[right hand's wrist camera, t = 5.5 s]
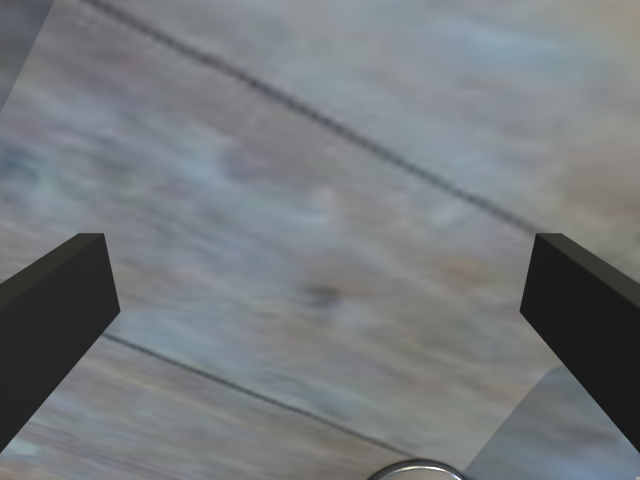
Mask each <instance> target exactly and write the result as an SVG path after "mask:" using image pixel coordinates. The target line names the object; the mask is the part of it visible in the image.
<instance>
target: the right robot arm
mask: <svg viewBox="0 0 640 480" xmlns="http://www.w3.org/2000/svg"><path fill="white" fill-rule="evenodd" d="M120 312H121V311H120V307H119V302H118V297H117V293H116V288H115V283H114V279H113V274H112V269H111V265H110V260H109V255H108V251H107V246H106V241H105V237H104V233H78V234H77V235H75V236H74V237H72V238H71V239H69V240H68V241H66V242H65V243H63V244H61V245H60V246H58V247H57V248H55V249H54V250H52V251H51V252H49V253H48V254H46V255H45V256H43V257H41V258H40V259H38V260H37V261H35V262H34V263H32V264H31V265H29V266H28V267H26V268H25V269H23V270H21V271H20V272H18V273H17V274H15V275H14V276H12V277H11V278H9V279H8V280H6V281H4V282H3V283H1V284H0V453H1V452H2V451H3V449H4V448H5V447H6V446H7V445H8V444H9V442H10V441H11V440H12V439H13V438H14V437H15V435H16V434H17V433H18V432H19V431H20V429H21V428H22V427H23V426H24V425H25V424H26V422H27V421H28V420H29V419H30V418H31V417H32V415H33V414H34V413H35V412H36V411H37V409H38V408H39V407H40V406H41V405H42V404H43V402H44V401H45V400H46V399H47V398H48V396H49V395H50V394H51V393H52V392H53V391H54V389H55V388H56V387H57V386H58V385H59V384H60V382H61V381H62V380H63V379H64V378H65V376H66V375H67V374H68V373H69V372H70V371H71V369H72V368H73V367H74V366H75V365H76V364H77V362H78V361H79V360H80V359H81V358H82V356H83V355H84V354H85V353H86V352H87V351H88V349H89V348H90V347H91V346H92V345H93V343H94V342H95V341H96V340H97V339H98V338H99V336H100V335H101V334H102V333H103V332H104V331H105V329H106V328H107V327H108V326H109V325H110V323H111V322H112V321H113V320H114V319H115V318H116V316H117V315H118V314H119V313H120ZM519 312H520V313H521V314H522V315H523V316H524V318H525V319H526V320H527V321H528V322H529V323H530V325H531V326H532V327H533V328H534V329H535V331H536V332H537V333H538V334H539V335H540V336H541V338H542V339H543V340H544V341H545V342H546V343H547V345H548V346H549V347H550V348H551V349H552V351H553V352H554V353H555V354H556V355H557V356H558V358H559V359H560V360H561V361H562V362H563V364H564V365H565V366H566V367H567V368H568V369H569V371H570V372H571V373H572V374H573V375H574V376H575V378H576V379H577V380H578V381H579V382H580V384H581V385H582V386H583V387H584V388H585V389H586V391H587V392H588V393H589V394H590V395H591V396H592V398H593V399H594V400H595V401H596V402H597V404H598V405H599V406H600V407H601V408H602V409H603V411H604V412H605V413H606V414H607V415H608V417H609V418H610V419H611V420H612V421H613V422H614V424H615V425H616V426H617V427H618V428H619V429H620V431H621V432H622V433H623V434H624V435H625V437H626V438H627V439H628V440H629V441H630V442H631V444H632V445H633V446H634V447H635V448H636V449H637V451H638V452H639V453H640V284H639V283H637V282H636V281H634V280H632V279H631V278H629V277H628V276H626V275H625V274H623V273H622V272H620V271H619V270H617V269H615V268H614V267H612V266H611V265H609V264H608V263H606V262H605V261H603V260H602V259H600V258H599V257H597V256H595V255H594V254H592V253H591V252H589V251H588V250H586V249H585V248H583V247H582V246H580V245H579V244H577V243H575V242H574V241H572V240H571V239H569V238H568V237H566V236H565V235H563V234H562V233H536V237H535V241H534V246H533V251H532V255H531V260H530V265H529V269H528V274H527V279H526V283H525V288H524V293H523V297H522V302H521V307H520V311H519ZM370 480H466V479H465V478H464V477H463V475H462V474H461V473H460V472H458V471H457V470H456V469H454V468H453V467H451V466H449V465H446V464H444V463H441V462H437V461H432V460H408V461H403V462H399V463H396V464H393V465H390V466H388V467H386V468H384V469H382V470H381V471H379V472H378V473H376V474H375V475H374V476H373V477H371V479H370Z"/></svg>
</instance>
